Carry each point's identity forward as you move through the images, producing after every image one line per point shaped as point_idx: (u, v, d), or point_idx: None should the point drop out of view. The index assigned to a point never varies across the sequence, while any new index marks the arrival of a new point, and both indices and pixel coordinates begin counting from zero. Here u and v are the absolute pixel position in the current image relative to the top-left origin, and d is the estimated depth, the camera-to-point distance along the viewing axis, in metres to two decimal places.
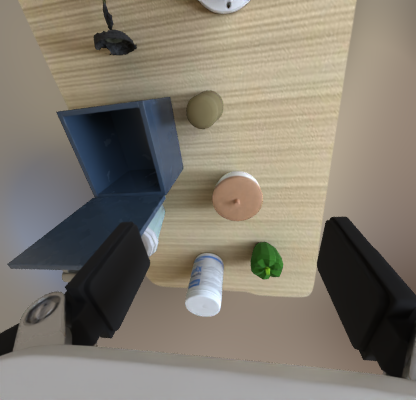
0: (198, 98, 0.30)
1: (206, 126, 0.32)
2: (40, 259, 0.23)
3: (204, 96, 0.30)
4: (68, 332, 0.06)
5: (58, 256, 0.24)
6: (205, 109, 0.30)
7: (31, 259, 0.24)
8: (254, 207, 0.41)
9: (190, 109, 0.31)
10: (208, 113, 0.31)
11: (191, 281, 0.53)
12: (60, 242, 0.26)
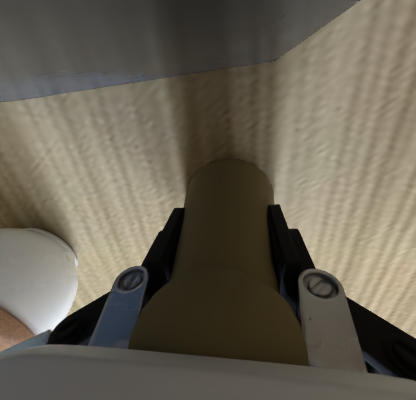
0: None
1: None
2: None
3: None
4: None
5: None
6: None
7: None
8: None
9: None
10: None
11: None
12: None
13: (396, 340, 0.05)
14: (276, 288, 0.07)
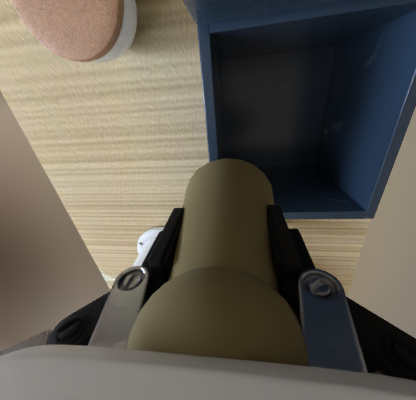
0: None
1: None
2: None
3: None
4: None
5: None
6: None
7: None
8: None
9: None
10: None
11: None
12: None
13: (396, 340, 0.05)
14: (275, 287, 0.07)
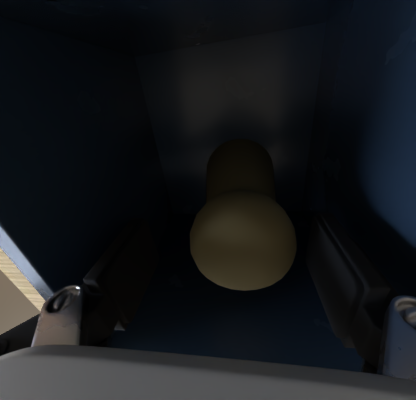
0: (291, 257, 0.08)
1: (198, 267, 0.10)
2: None
3: (290, 265, 0.09)
4: (84, 325, 0.06)
5: None
6: (253, 280, 0.09)
7: None
8: None
9: (256, 235, 0.08)
10: (239, 284, 0.09)
11: None
12: None
13: None
14: None
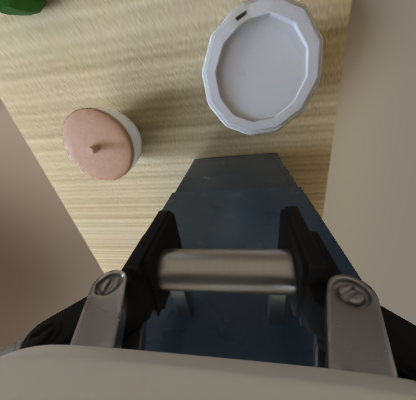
0: None
1: None
2: None
3: None
4: (123, 315, 0.06)
5: None
6: None
7: None
8: (70, 138, 0.29)
9: None
10: None
11: None
12: None
13: None
14: None
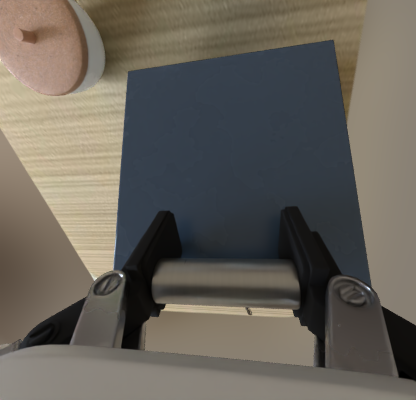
0: None
1: None
2: None
3: None
4: (122, 315, 0.06)
5: None
6: None
7: None
8: None
9: None
10: None
11: None
12: None
13: None
14: None
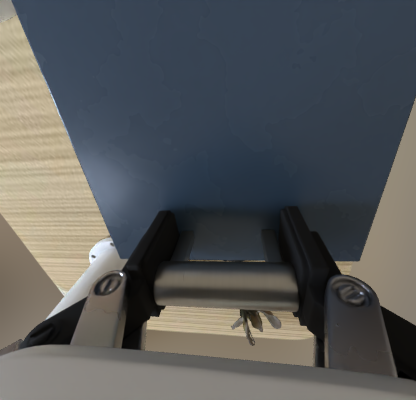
0: None
1: None
2: None
3: None
4: (123, 315, 0.06)
5: None
6: None
7: None
8: None
9: None
10: None
11: None
12: None
13: None
14: None
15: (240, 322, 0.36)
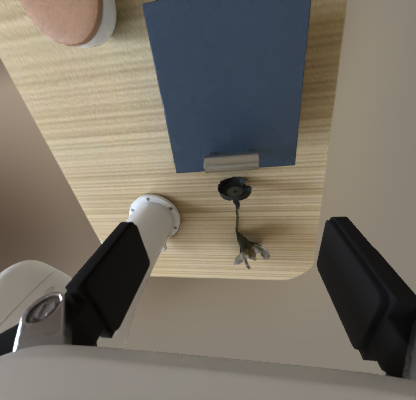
0: None
1: None
2: None
3: None
4: (68, 332, 0.06)
5: None
6: None
7: None
8: None
9: None
10: None
11: None
12: None
13: None
14: None
15: (240, 260, 0.49)
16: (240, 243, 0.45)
